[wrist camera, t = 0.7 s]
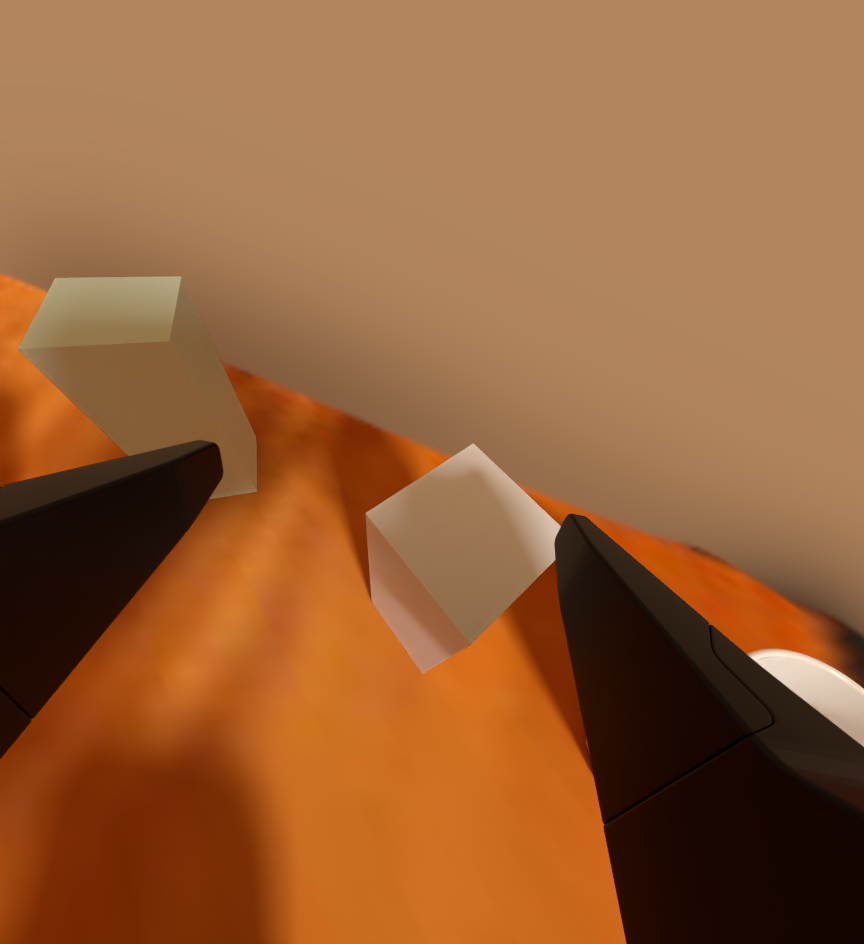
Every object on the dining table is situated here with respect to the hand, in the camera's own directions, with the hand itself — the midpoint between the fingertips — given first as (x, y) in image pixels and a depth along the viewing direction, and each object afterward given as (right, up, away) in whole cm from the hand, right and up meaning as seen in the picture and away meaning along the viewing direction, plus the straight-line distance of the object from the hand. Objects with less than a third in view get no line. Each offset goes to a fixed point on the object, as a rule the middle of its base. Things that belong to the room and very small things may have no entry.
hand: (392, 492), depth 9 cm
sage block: (-15, +1, +16) cm, 22 cm away
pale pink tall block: (+1, -8, +13) cm, 15 cm away
